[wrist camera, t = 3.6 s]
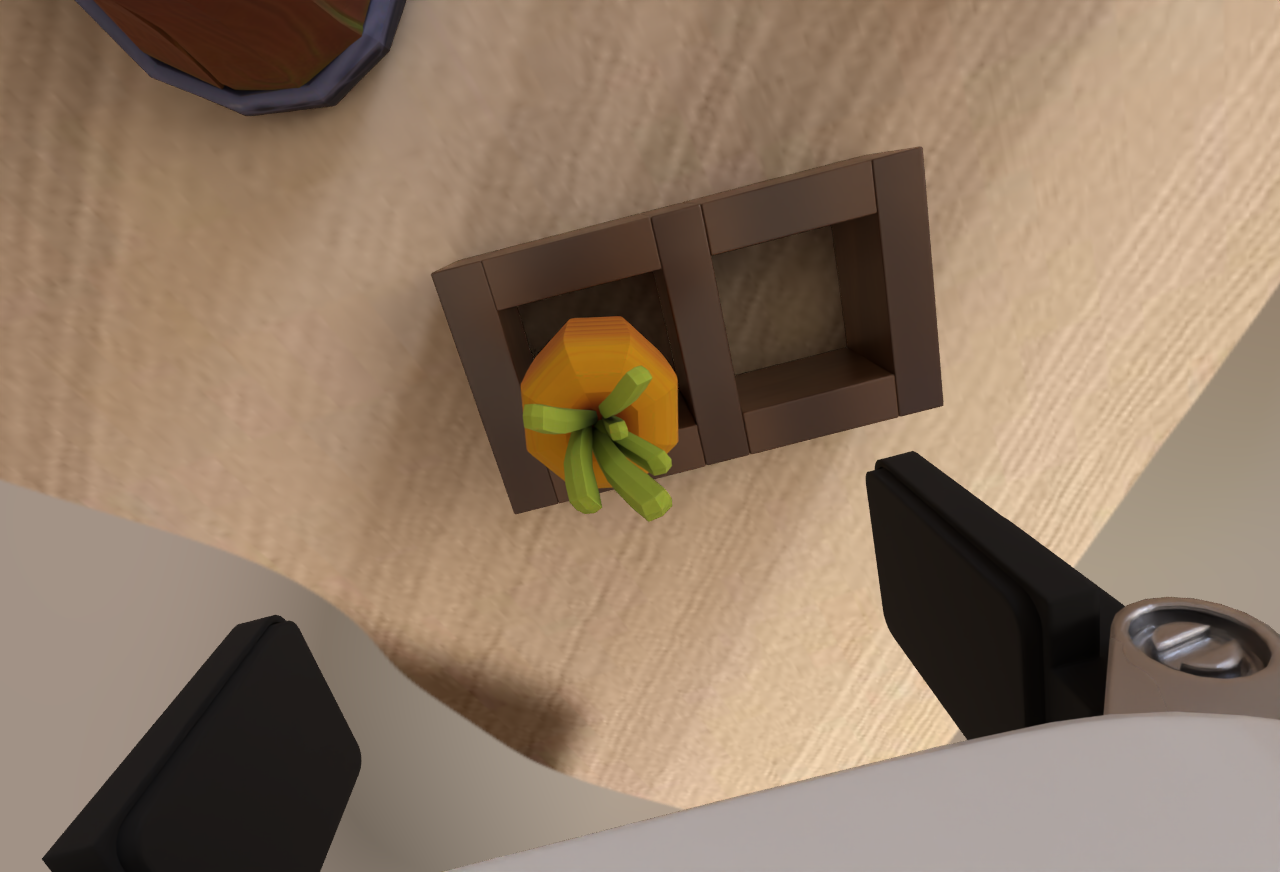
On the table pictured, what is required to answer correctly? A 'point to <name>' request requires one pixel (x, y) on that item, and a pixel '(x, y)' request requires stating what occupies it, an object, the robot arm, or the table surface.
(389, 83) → the table surface
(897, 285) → the holder
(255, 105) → the mug
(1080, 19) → the table surface
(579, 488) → the carrot
